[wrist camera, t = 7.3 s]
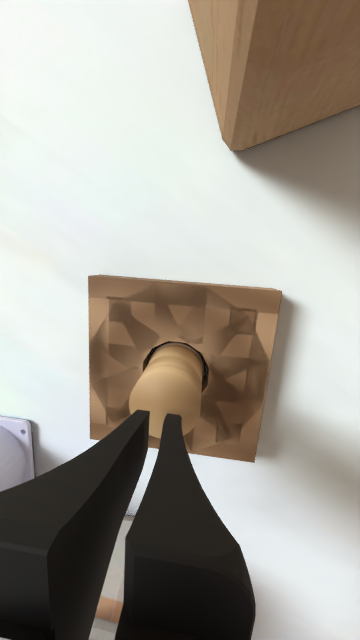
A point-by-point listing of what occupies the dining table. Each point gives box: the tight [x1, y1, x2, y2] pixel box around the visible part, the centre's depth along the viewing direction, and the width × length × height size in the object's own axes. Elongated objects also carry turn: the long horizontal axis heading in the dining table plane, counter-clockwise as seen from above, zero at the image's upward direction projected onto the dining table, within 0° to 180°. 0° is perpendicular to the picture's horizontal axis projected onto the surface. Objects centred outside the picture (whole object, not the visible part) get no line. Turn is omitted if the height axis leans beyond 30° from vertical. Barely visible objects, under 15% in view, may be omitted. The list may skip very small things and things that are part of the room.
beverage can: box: [89, 516, 135, 640], centre depth 18 cm, size 9×8×12 cm
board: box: [88, 275, 282, 463], centre depth 19 cm, size 13×13×2 cm
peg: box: [129, 341, 204, 438], centre depth 16 cm, size 4×4×7 cm
